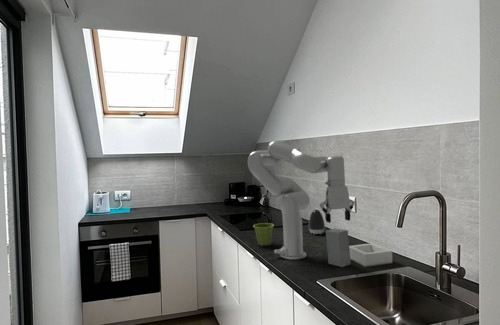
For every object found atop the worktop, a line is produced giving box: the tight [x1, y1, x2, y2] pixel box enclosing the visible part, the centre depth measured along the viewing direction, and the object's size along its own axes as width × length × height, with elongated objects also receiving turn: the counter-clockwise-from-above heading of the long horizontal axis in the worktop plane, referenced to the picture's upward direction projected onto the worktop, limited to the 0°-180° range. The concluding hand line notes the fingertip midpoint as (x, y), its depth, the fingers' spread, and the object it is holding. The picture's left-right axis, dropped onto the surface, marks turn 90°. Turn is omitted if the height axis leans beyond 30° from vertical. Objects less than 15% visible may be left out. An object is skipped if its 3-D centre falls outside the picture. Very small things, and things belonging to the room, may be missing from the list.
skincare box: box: [325, 228, 352, 268], centre depth 160 cm, size 8×7×16 cm
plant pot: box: [252, 222, 275, 246], centre depth 198 cm, size 12×12×11 cm
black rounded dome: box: [308, 209, 326, 235], centre depth 221 cm, size 10×10×15 cm
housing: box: [349, 243, 393, 268], centre depth 164 cm, size 14×15×6 cm
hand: (338, 221), depth 159 cm, fingers open, 9 cm apart
